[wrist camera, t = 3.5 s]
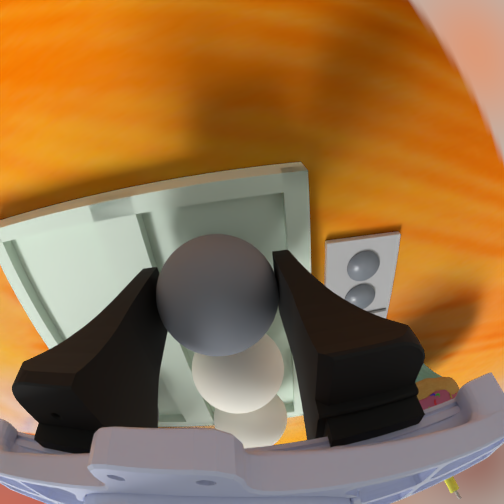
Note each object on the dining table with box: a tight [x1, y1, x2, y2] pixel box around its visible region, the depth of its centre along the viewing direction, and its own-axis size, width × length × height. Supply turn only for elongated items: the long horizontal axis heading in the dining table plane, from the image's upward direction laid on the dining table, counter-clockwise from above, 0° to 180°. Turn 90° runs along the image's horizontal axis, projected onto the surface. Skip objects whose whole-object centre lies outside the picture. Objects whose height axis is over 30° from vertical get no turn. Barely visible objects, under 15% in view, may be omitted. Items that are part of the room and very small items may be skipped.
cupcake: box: [415, 363, 461, 499], centre depth 17 cm, size 9×8×12 cm
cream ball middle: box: [192, 334, 284, 413], centre depth 15 cm, size 5×5×5 cm
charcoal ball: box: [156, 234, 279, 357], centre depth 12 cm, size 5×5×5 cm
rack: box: [0, 162, 311, 427], centre depth 17 cm, size 18×16×1 cm
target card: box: [324, 231, 401, 319], centre depth 17 cm, size 10×4×1 cm, turn 7°
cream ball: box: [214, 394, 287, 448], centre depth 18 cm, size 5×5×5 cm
